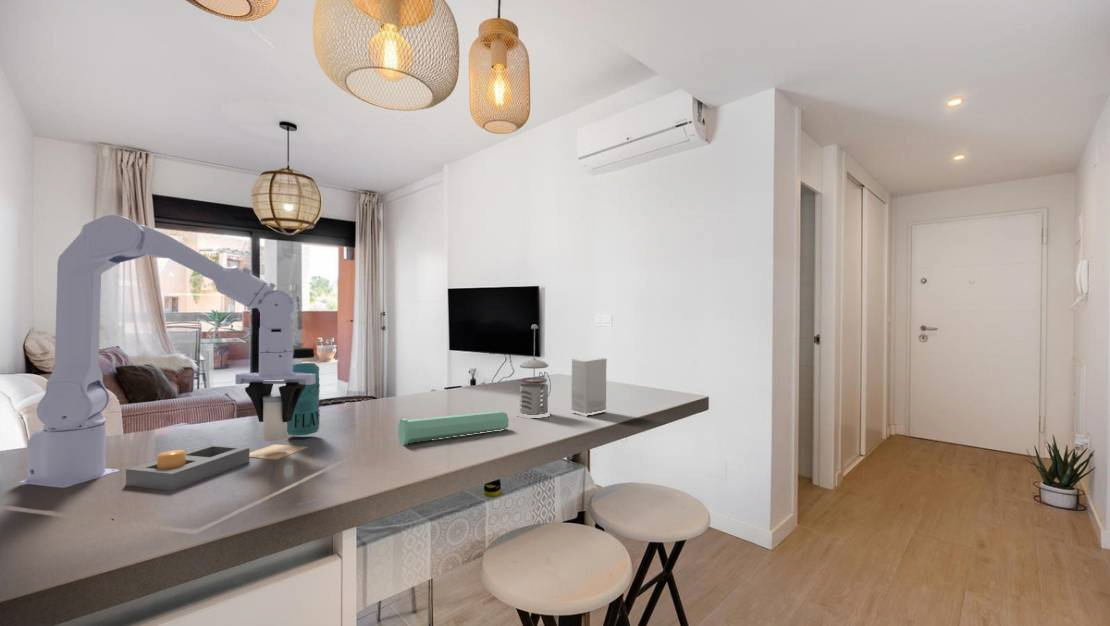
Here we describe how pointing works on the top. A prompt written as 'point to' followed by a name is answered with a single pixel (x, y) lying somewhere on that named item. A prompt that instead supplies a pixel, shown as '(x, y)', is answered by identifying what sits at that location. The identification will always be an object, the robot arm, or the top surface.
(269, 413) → the cartridge
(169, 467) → the orange cylinder
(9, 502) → the top surface
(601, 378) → the skincare box
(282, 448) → the mat
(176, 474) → the housing
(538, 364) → the french press
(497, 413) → the container
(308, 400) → the beverage bottle
